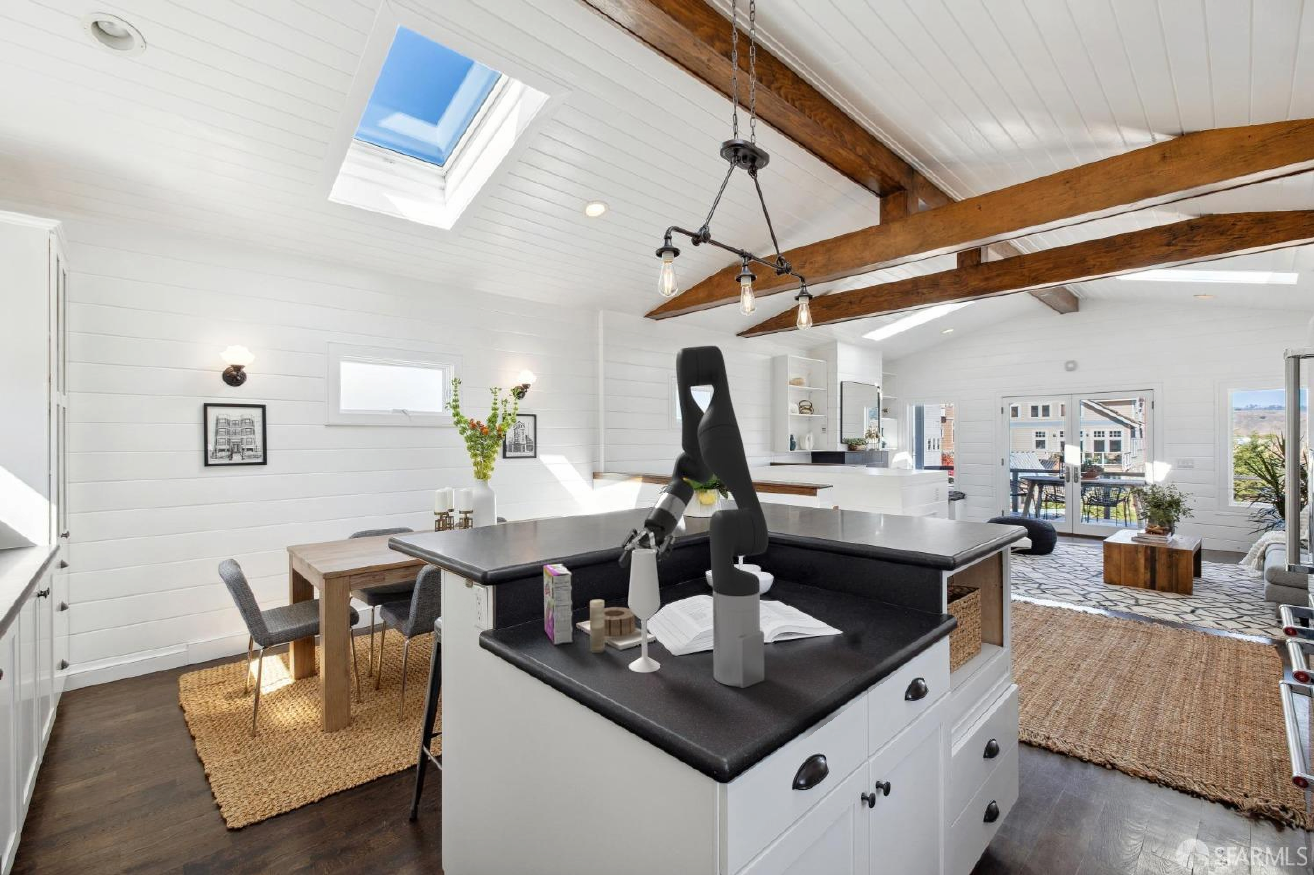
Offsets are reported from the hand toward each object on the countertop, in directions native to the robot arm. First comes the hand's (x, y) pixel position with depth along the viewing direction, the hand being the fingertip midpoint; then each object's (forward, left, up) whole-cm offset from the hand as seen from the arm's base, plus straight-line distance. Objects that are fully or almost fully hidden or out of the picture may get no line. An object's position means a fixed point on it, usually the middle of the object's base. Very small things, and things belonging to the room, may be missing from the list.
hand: (633, 568), depth 140 cm
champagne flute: (-16, +8, -17) cm, 25 cm away
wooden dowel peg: (-2, +11, -16) cm, 20 cm away
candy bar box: (+12, +14, -17) cm, 25 cm away
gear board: (+5, +2, -16) cm, 17 cm away
